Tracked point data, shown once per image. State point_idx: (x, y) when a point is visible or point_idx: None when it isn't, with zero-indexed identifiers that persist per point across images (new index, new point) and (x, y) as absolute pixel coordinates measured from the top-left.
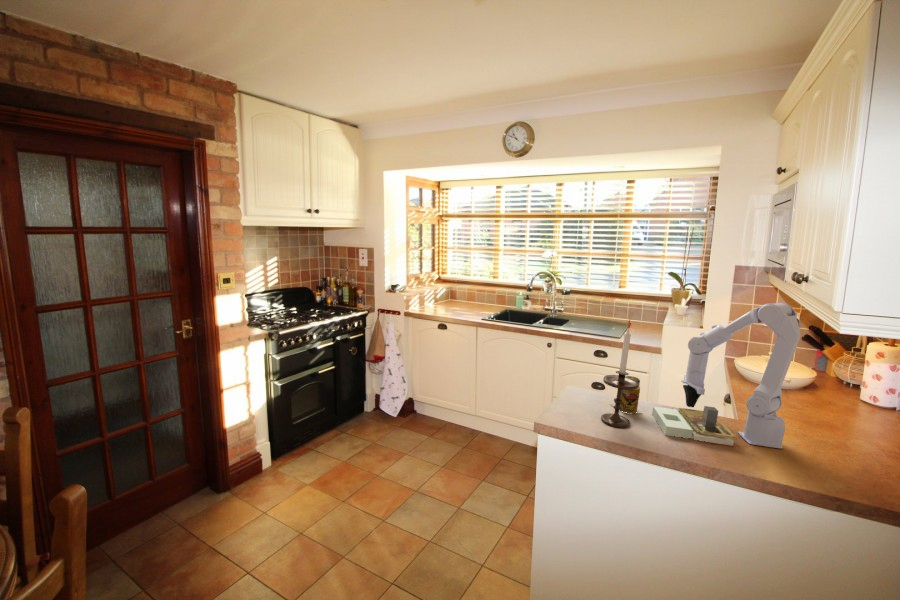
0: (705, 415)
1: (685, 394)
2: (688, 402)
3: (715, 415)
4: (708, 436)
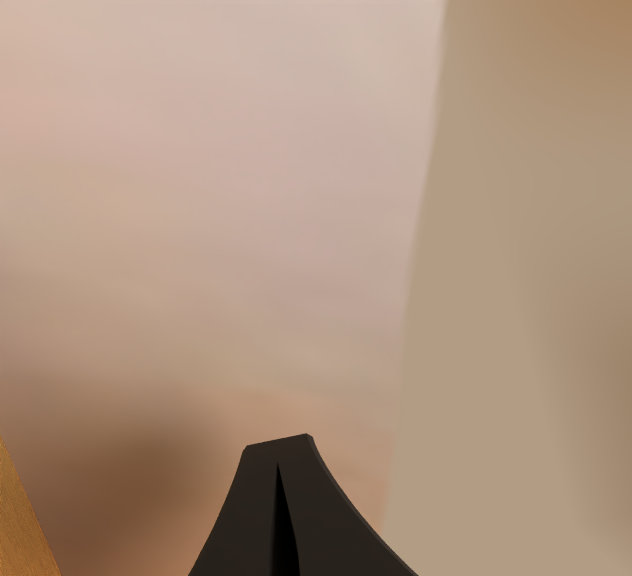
0: None
1: (370, 555)
2: (229, 507)
3: None
4: None
